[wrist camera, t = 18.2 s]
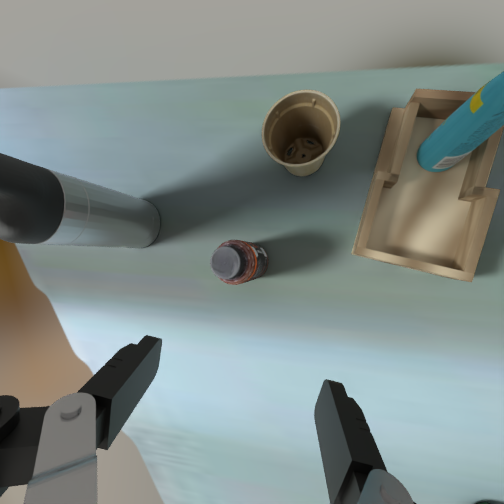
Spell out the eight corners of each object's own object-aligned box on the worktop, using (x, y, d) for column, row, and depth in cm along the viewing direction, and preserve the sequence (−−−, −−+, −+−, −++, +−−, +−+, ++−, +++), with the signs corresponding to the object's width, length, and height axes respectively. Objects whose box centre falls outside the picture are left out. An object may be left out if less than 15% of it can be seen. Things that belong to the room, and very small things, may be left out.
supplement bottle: (267, 241, 39) (247, 235, 28) (270, 278, 38) (251, 286, 27) (233, 244, 40) (200, 240, 29) (235, 280, 40) (204, 289, 29)
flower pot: (275, 129, 39) (263, 94, 30) (336, 123, 36) (342, 83, 28) (272, 187, 38) (259, 168, 30) (333, 185, 36) (338, 164, 28)
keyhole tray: (351, 254, 35) (356, 253, 30) (390, 111, 34) (402, 87, 29) (453, 279, 32) (477, 283, 27) (501, 121, 31) (535, 96, 26)
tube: (449, 122, 31) (640, -74, 13) (477, 148, 30) (724, -20, 12) (398, 160, 33) (502, 35, 14) (423, 187, 32) (568, 91, 13)
